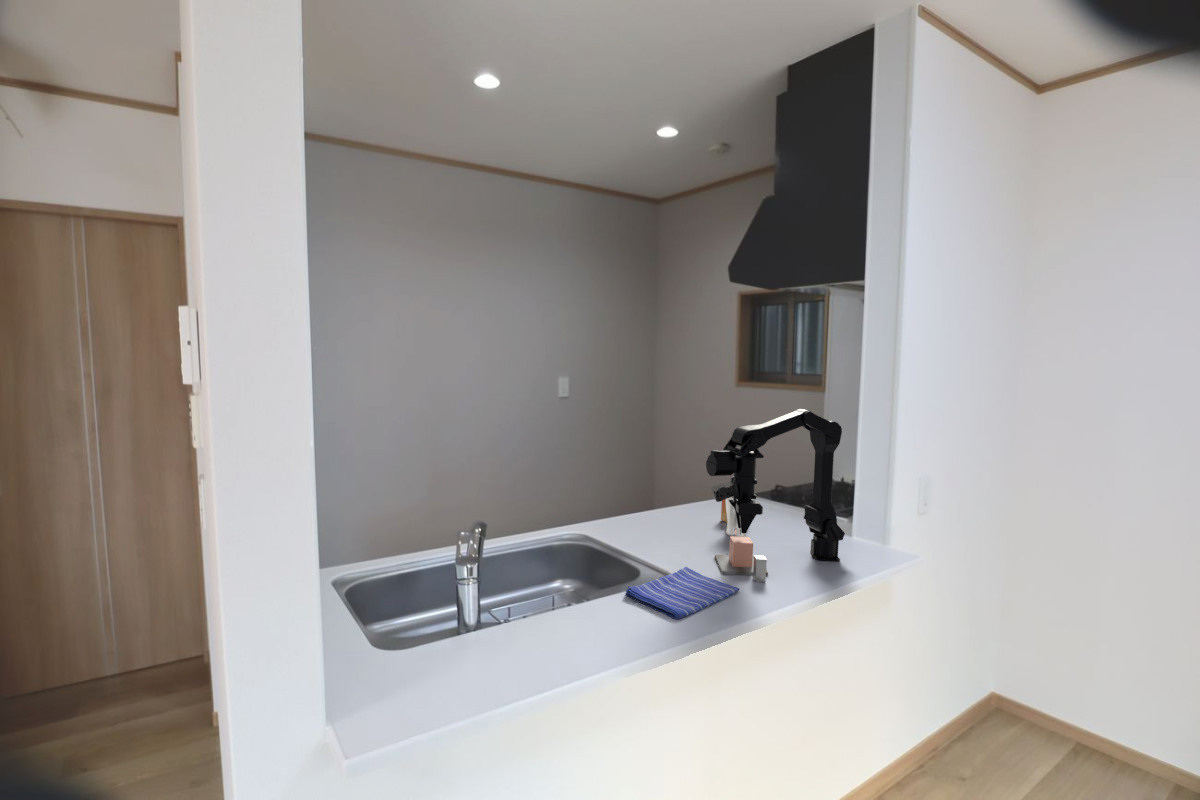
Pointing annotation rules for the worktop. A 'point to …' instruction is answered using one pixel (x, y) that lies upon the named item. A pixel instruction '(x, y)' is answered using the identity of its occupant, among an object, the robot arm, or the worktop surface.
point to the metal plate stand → (729, 569)
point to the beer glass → (732, 521)
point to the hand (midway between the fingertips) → (741, 530)
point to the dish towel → (681, 593)
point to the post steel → (759, 568)
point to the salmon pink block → (741, 551)
